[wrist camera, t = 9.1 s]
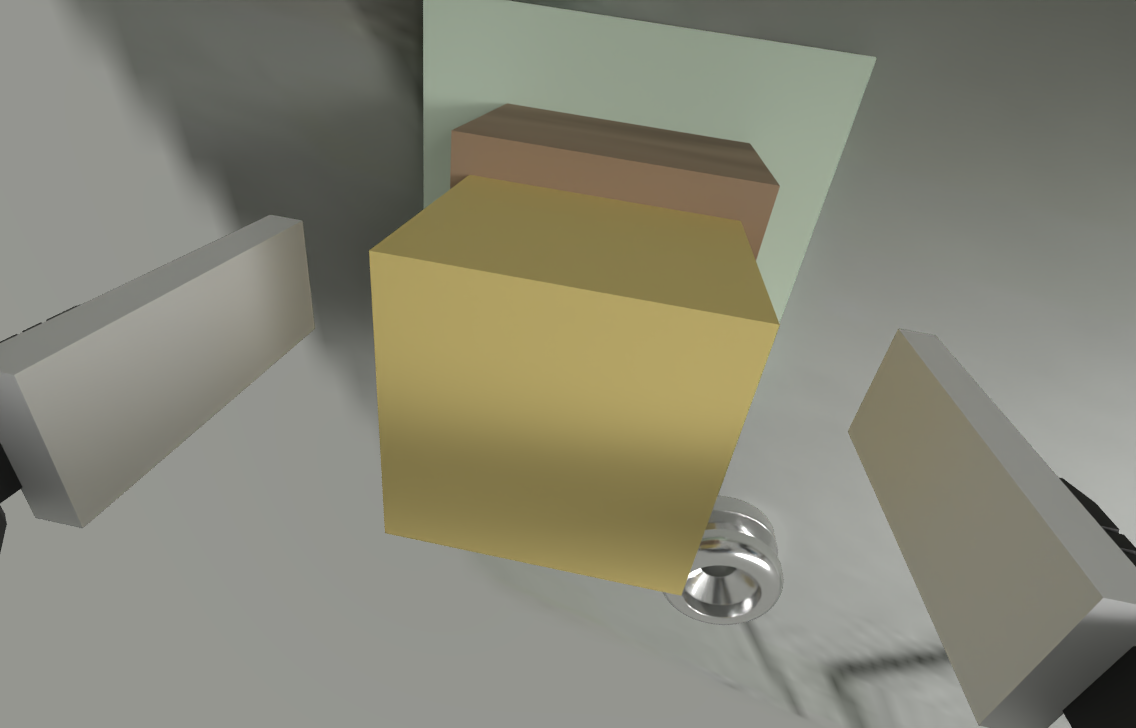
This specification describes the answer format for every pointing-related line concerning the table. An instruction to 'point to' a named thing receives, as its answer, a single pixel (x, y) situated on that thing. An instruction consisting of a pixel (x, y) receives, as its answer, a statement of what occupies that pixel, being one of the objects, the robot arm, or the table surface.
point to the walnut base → (618, 163)
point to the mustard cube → (564, 376)
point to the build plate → (650, 96)
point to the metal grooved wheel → (732, 567)
